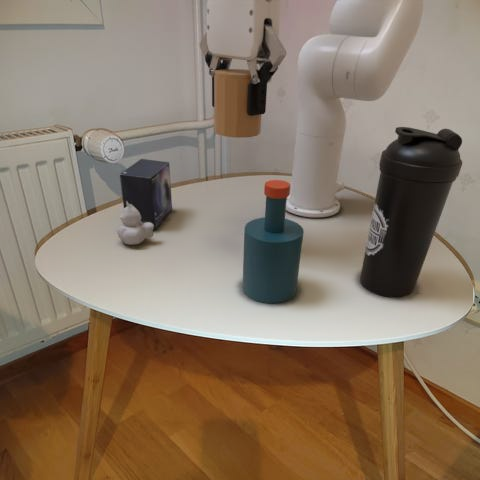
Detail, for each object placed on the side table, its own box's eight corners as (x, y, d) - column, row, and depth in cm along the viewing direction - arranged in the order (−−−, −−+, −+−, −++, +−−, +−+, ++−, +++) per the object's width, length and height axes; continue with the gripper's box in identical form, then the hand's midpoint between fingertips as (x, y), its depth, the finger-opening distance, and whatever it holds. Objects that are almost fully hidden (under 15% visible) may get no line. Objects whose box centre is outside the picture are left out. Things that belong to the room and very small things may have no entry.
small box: (156, 231, 81) (151, 177, 74) (124, 228, 82) (116, 174, 75) (174, 211, 89) (170, 160, 83) (145, 208, 90) (139, 157, 84)
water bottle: (349, 266, 72) (379, 120, 58) (409, 268, 71) (453, 123, 58) (361, 299, 63) (399, 138, 50) (428, 302, 63) (485, 141, 50)
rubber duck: (122, 236, 79) (115, 194, 74) (157, 236, 79) (153, 195, 74) (116, 249, 74) (109, 206, 70) (153, 249, 75) (148, 206, 70)
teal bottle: (267, 269, 70) (274, 170, 60) (307, 289, 65) (322, 184, 56) (231, 287, 65) (232, 182, 55) (271, 310, 61) (281, 200, 51)
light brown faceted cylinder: (238, 125, 68) (239, 68, 63) (268, 133, 64) (272, 73, 59) (205, 131, 64) (205, 70, 59) (236, 139, 60) (238, 75, 55)
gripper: (317, -50, 49) (299, 117, 59) (218, -42, 59) (218, 99, 69) (273, -58, 45) (262, 123, 55) (175, -49, 54) (182, 104, 65)
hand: (238, 109), depth 62 cm, fingers closed on light brown faceted cylinder, 6 cm apart
